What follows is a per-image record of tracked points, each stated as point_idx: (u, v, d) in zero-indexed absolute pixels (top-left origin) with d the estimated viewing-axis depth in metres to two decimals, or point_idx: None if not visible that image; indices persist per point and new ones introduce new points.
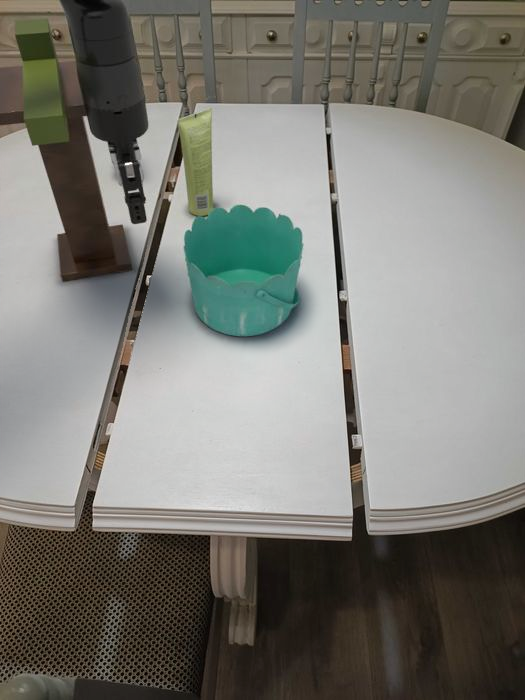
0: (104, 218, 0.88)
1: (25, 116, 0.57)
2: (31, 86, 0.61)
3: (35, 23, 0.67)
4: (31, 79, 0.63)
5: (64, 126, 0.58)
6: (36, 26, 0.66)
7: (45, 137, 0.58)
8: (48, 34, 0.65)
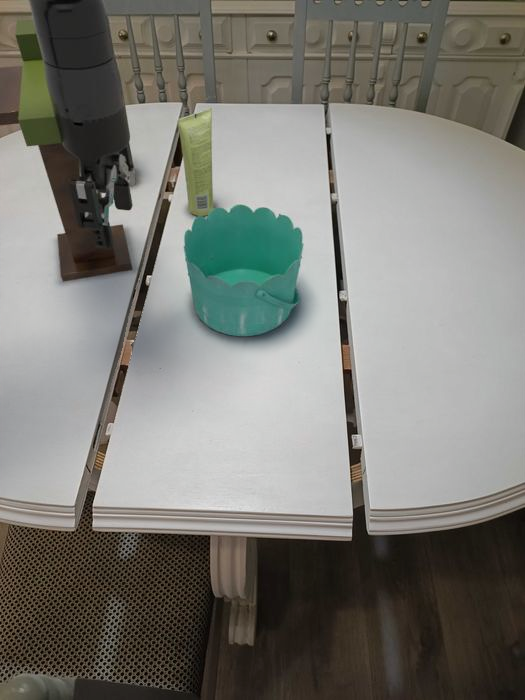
0: None
1: (20, 117, 0.56)
2: (29, 87, 0.61)
3: None
4: (30, 79, 0.63)
5: None
6: None
7: (40, 138, 0.58)
8: None
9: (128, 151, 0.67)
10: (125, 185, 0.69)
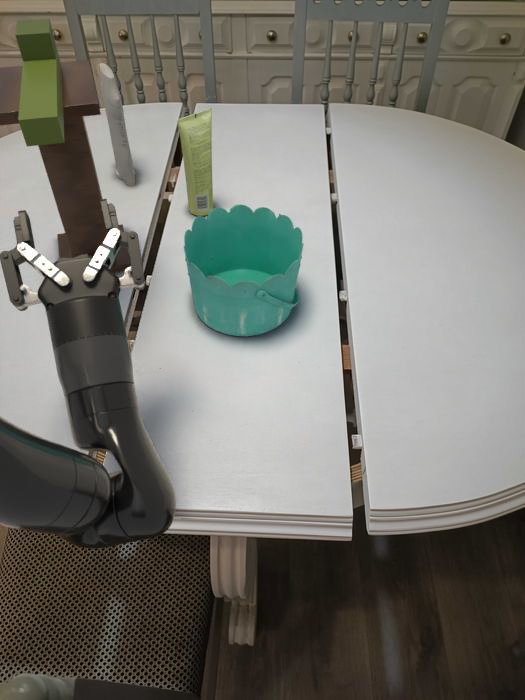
0: None
1: (20, 117, 0.56)
2: (29, 87, 0.61)
3: (37, 23, 0.67)
4: (30, 79, 0.63)
5: (59, 127, 0.58)
6: (37, 26, 0.66)
7: (40, 138, 0.58)
8: (48, 35, 0.65)
9: None
10: None
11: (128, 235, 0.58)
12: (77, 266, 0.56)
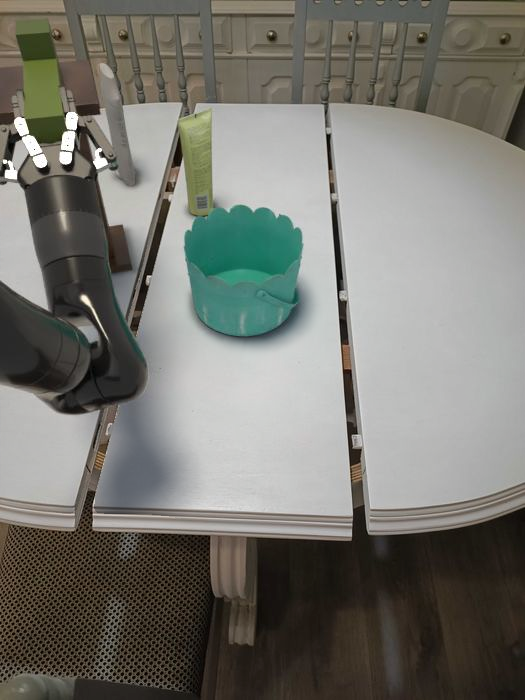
0: (104, 218, 0.88)
1: (25, 116, 0.57)
2: (31, 86, 0.61)
3: (36, 23, 0.67)
4: (32, 79, 0.63)
5: (64, 126, 0.58)
6: (37, 26, 0.66)
7: (45, 137, 0.58)
8: (49, 34, 0.65)
9: None
10: None
11: (85, 119, 0.60)
12: (55, 151, 0.58)
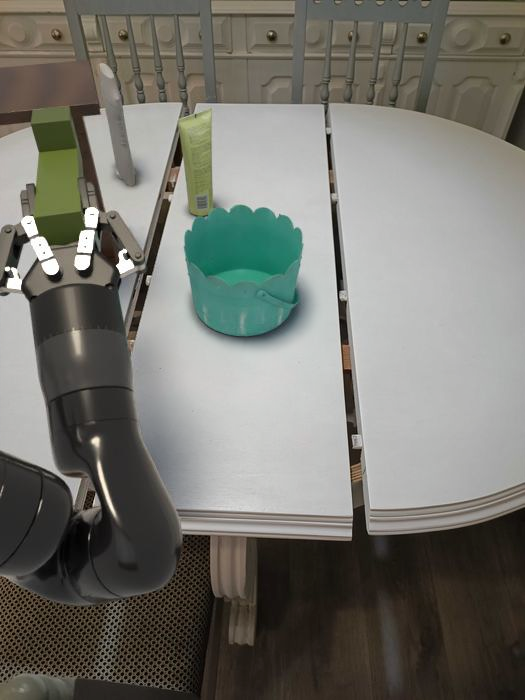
0: None
1: (35, 214, 0.46)
2: (46, 180, 0.51)
3: (55, 111, 0.58)
4: (47, 171, 0.53)
5: (82, 224, 0.47)
6: (56, 114, 0.57)
7: (59, 238, 0.47)
8: (69, 122, 0.56)
9: None
10: None
11: (108, 215, 0.49)
12: (69, 254, 0.47)
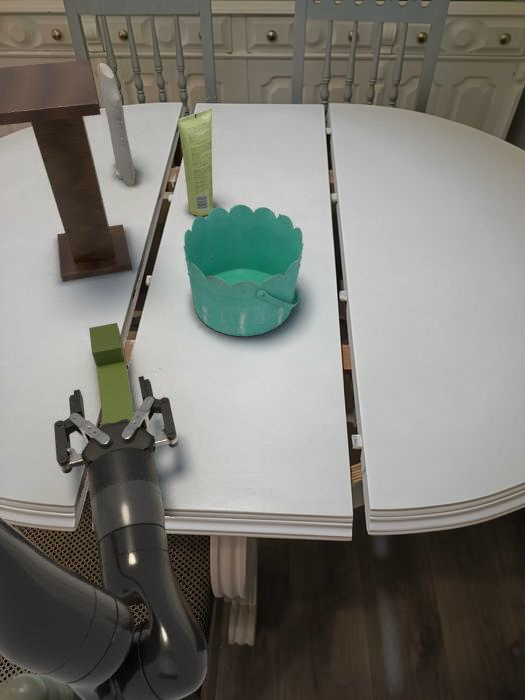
0: (104, 218, 0.88)
1: None
2: (108, 409, 0.71)
3: (107, 331, 0.76)
4: (107, 396, 0.73)
5: None
6: (109, 338, 0.76)
7: None
8: (120, 348, 0.75)
9: None
10: None
11: (161, 400, 0.66)
12: (117, 429, 0.63)
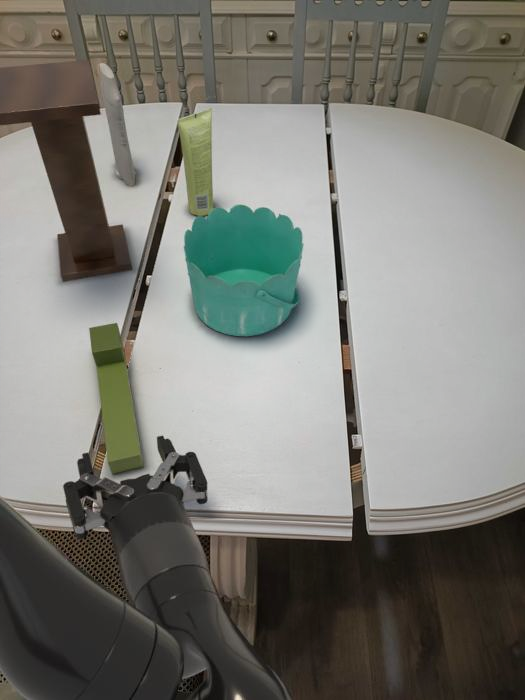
0: (104, 218, 0.88)
1: (108, 458, 0.66)
2: (108, 409, 0.71)
3: (107, 331, 0.76)
4: (107, 396, 0.73)
5: (140, 460, 0.68)
6: (109, 338, 0.76)
7: (123, 468, 0.68)
8: (120, 348, 0.75)
9: None
10: None
11: (186, 455, 0.60)
12: (140, 483, 0.56)
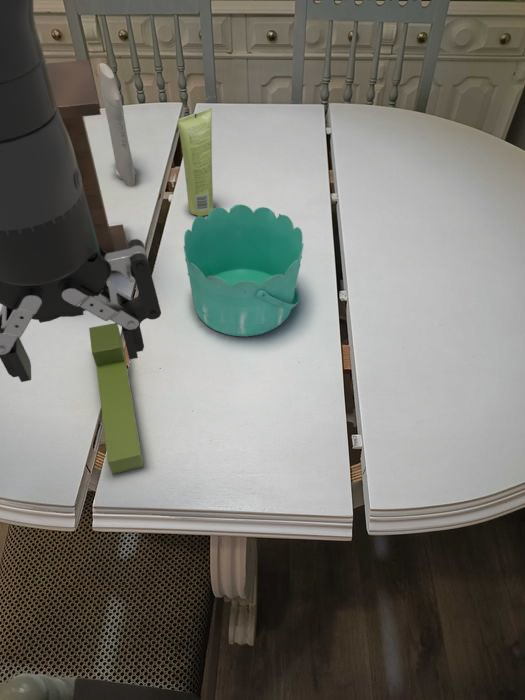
0: (104, 218, 0.88)
1: (108, 458, 0.66)
2: (108, 409, 0.71)
3: (107, 331, 0.76)
4: (107, 396, 0.73)
5: (140, 460, 0.68)
6: (109, 338, 0.76)
7: (123, 468, 0.68)
8: (120, 348, 0.75)
9: (142, 291, 0.39)
10: (123, 328, 0.42)
11: None
12: None
